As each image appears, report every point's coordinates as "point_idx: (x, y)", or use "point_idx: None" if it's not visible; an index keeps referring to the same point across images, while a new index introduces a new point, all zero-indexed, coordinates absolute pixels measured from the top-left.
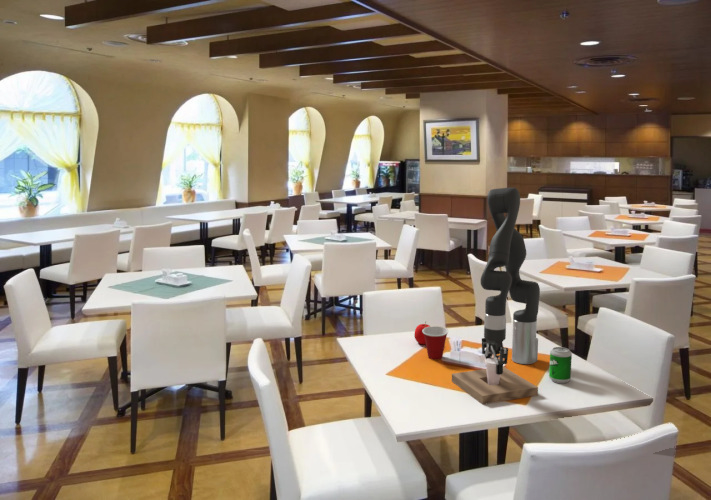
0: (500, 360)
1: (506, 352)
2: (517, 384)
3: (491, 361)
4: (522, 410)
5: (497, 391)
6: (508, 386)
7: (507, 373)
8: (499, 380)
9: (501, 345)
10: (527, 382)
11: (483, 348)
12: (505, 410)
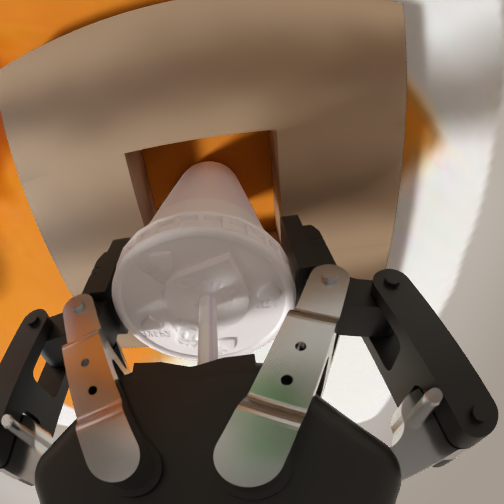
0: (389, 352)
1: (469, 390)
2: (326, 89)
3: (217, 330)
4: (464, 181)
5: (369, 250)
6: (336, 163)
7: (102, 68)
8: (232, 178)
9: (378, 492)
10: (313, 6)
11: (62, 401)
12: (436, 238)
